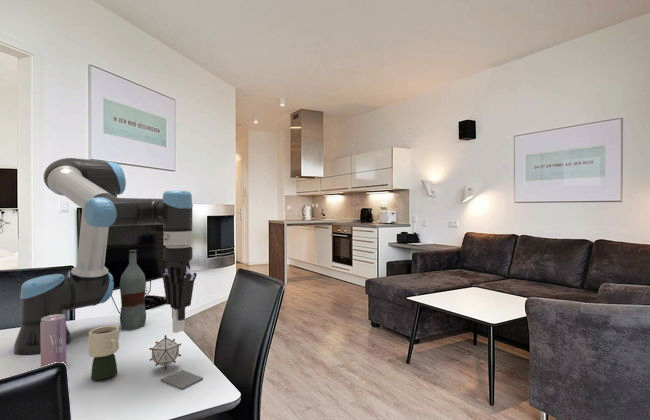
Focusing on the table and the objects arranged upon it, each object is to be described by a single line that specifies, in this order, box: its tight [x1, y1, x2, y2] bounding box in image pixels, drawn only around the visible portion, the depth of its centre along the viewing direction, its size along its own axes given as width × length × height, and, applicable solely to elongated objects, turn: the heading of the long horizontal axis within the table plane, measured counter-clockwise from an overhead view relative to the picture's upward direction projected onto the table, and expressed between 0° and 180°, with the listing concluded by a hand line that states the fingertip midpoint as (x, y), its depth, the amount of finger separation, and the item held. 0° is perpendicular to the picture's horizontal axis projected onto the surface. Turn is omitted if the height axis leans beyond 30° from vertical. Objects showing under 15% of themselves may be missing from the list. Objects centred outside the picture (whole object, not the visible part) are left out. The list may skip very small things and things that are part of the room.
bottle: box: [119, 249, 147, 331], centre depth 142 cm, size 9×9×30 cm
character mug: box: [88, 325, 120, 381], centre depth 100 cm, size 11×7×13 cm, turn 60°
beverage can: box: [40, 313, 67, 368], centre depth 105 cm, size 6×6×15 cm
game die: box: [148, 334, 182, 370], centre depth 104 cm, size 9×8×10 cm
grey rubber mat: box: [160, 369, 204, 391], centre depth 97 cm, size 9×7×1 cm
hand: (178, 331), depth 101 cm, fingers closed
